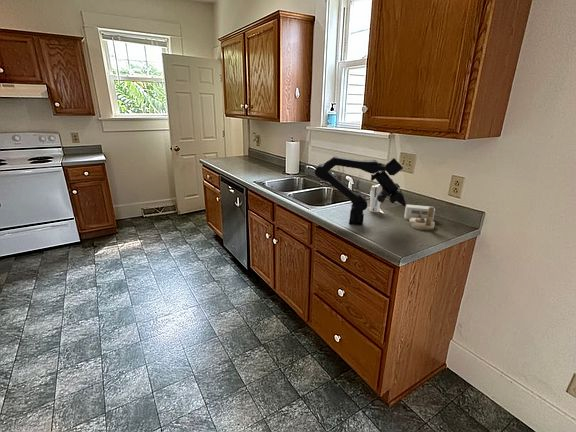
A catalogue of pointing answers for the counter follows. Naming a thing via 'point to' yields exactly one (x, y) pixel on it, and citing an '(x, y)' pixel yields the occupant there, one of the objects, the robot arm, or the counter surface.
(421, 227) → the cam dial
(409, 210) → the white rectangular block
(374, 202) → the beer glass
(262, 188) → the counter surface
